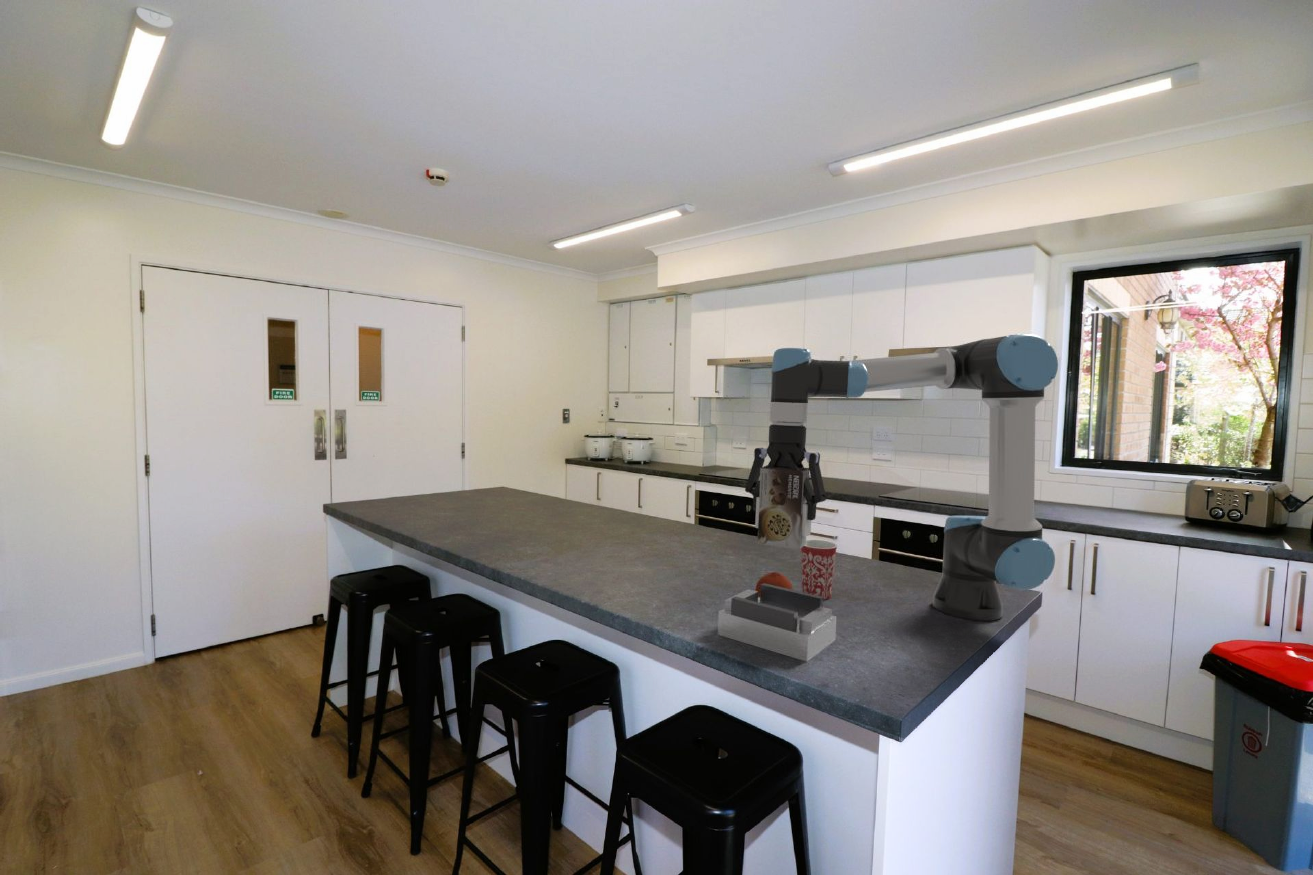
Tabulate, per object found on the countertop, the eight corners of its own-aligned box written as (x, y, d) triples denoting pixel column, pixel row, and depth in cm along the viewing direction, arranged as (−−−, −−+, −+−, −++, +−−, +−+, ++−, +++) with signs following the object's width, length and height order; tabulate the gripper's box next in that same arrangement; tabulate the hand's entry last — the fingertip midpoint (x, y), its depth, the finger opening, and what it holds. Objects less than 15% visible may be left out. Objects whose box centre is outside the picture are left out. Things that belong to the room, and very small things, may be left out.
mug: (826, 604, 150) (828, 549, 149) (792, 595, 156) (794, 543, 155) (846, 592, 160) (848, 541, 159) (813, 584, 166) (815, 535, 165)
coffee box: (806, 543, 128) (811, 467, 127) (799, 550, 123) (804, 470, 122) (764, 538, 132) (768, 463, 131) (755, 543, 127) (759, 466, 126)
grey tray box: (835, 640, 127) (837, 600, 127) (807, 661, 116) (808, 617, 116) (750, 616, 140) (752, 580, 139) (717, 634, 129) (719, 594, 128)
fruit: (752, 598, 153) (753, 567, 152) (788, 599, 153) (789, 568, 152) (757, 610, 144) (758, 577, 144) (795, 612, 144) (796, 578, 143)
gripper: (848, 427, 122) (841, 537, 123) (749, 421, 136) (744, 520, 137) (833, 427, 116) (826, 543, 117) (731, 421, 130) (726, 525, 131)
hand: (782, 531), depth 127 cm, fingers closed on coffee box, 10 cm apart
